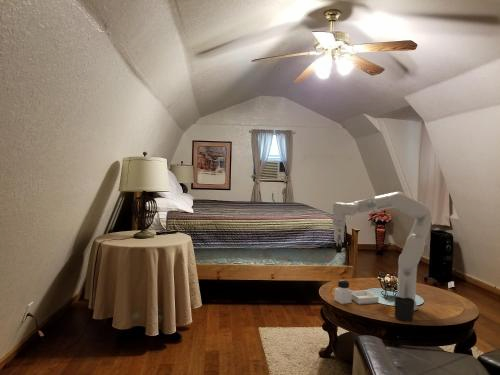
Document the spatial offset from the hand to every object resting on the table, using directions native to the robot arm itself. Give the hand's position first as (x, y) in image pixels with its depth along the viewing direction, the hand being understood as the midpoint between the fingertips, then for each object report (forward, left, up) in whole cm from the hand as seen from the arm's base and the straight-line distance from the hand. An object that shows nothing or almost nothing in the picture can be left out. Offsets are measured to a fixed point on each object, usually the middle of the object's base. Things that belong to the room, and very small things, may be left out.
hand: (337, 251), depth 231 cm
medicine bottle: (-10, +1, -28) cm, 29 cm away
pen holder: (-39, -18, -28) cm, 51 cm away
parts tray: (-10, -12, -27) cm, 31 cm away
